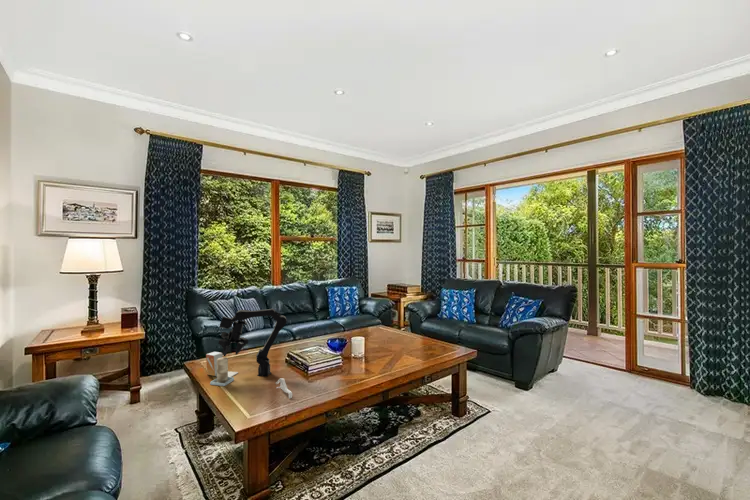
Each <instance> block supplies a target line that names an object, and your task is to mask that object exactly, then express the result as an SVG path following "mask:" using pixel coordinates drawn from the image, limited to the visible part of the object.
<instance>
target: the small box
mask: <svg viewBox="0 0 750 500" xmlns="http://www.w3.org/2000/svg"><path fill="white" fill-rule="evenodd" d="M222 357H224V355H223V352H219V351H212V352H209V353H206V354H205V361H206V374H207V375H209V376H212V377H213V376H214V377H217V359H218V358H222Z"/></svg>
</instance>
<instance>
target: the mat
mask: <svg viewBox="0 0 750 500" xmlns="http://www.w3.org/2000/svg"><path fill="white" fill-rule="evenodd" d="M238 374H239V371H229V370H228V377H233V378H234V376H235V375H238Z"/></svg>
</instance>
